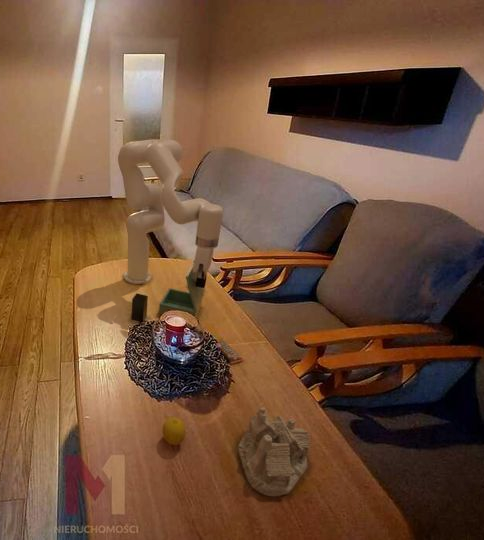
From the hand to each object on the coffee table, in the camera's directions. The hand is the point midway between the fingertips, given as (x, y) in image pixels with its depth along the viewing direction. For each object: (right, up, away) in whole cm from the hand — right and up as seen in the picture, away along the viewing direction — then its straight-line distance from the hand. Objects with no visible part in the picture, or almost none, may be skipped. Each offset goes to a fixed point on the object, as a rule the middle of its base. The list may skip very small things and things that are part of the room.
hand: (200, 286), depth 128 cm
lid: (-2, 0, +1) cm, 2 cm away
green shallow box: (-5, -11, +9) cm, 15 cm away
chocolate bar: (+5, -22, -12) cm, 25 cm away
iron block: (-22, -13, +5) cm, 26 cm away
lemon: (-19, -38, -40) cm, 59 cm away
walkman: (+6, -2, +25) cm, 26 cm away
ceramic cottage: (+4, -40, -46) cm, 61 cm away
